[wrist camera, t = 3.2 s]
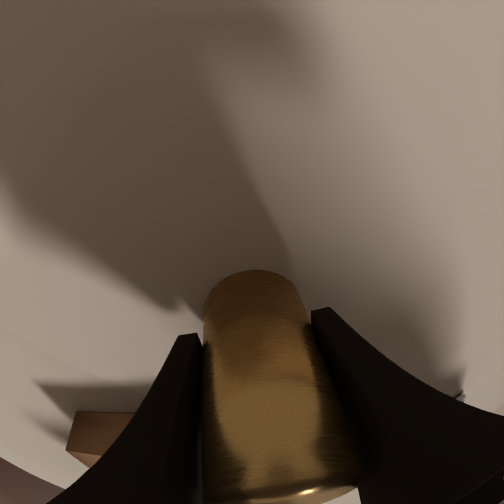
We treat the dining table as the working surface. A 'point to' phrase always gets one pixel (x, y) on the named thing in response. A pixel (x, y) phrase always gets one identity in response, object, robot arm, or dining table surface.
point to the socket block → (95, 434)
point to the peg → (269, 401)
